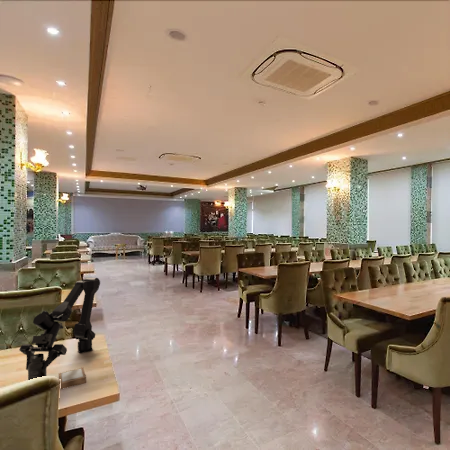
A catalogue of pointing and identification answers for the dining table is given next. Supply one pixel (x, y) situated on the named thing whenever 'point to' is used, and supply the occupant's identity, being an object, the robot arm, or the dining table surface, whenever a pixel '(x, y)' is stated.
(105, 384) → the dining table surface
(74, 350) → the dining table surface
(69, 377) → the walnut plinth
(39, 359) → the supplement bottle
